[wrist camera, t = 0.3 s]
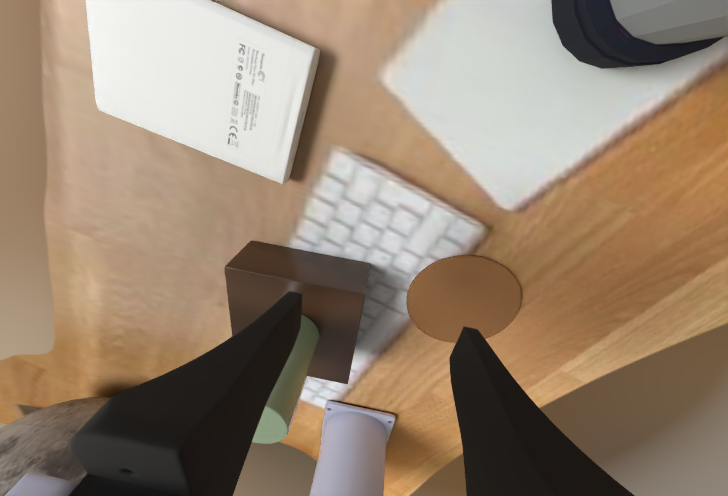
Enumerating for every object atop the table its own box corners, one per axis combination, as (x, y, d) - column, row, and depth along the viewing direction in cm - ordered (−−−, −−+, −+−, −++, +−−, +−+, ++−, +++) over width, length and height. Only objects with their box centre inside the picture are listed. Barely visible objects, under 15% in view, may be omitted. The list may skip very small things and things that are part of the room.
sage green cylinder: (317, 356, 23) (287, 450, 17) (265, 345, 23) (217, 435, 17) (321, 316, 21) (288, 408, 15) (264, 304, 21) (207, 391, 15)
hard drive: (108, -46, 16) (322, 50, 16) (118, 109, 20) (289, 180, 20) (78, -60, 14) (314, 46, 15) (95, 111, 18) (281, 186, 19)
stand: (354, 347, 28) (347, 384, 25) (255, 327, 28) (235, 361, 25) (370, 263, 23) (364, 294, 20) (250, 240, 23) (224, 266, 20)
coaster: (495, 349, 26) (495, 351, 26) (397, 329, 26) (396, 331, 26) (540, 267, 21) (541, 269, 21) (421, 244, 22) (421, 246, 21)
